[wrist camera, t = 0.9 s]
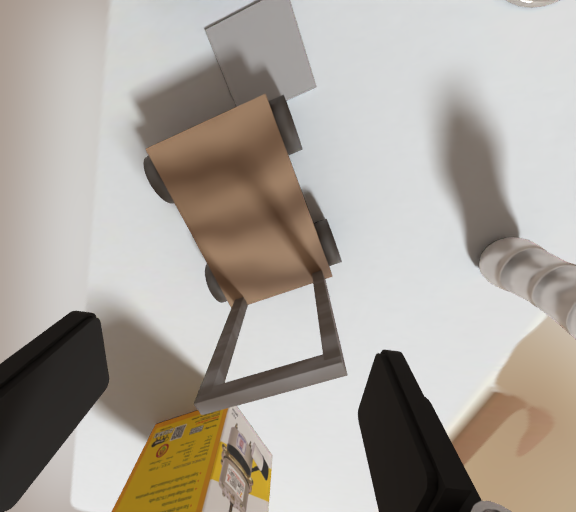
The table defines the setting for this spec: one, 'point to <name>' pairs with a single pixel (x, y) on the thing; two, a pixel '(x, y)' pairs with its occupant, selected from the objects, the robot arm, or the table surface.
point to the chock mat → (262, 52)
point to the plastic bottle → (533, 277)
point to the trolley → (250, 236)
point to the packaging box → (200, 467)
